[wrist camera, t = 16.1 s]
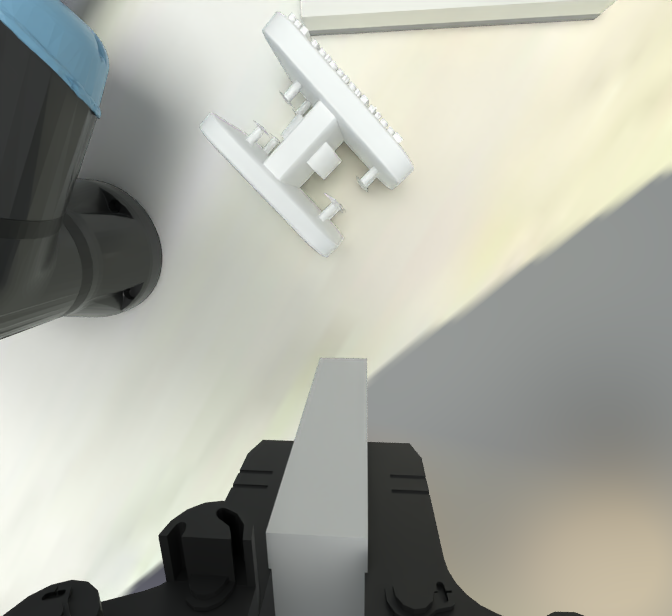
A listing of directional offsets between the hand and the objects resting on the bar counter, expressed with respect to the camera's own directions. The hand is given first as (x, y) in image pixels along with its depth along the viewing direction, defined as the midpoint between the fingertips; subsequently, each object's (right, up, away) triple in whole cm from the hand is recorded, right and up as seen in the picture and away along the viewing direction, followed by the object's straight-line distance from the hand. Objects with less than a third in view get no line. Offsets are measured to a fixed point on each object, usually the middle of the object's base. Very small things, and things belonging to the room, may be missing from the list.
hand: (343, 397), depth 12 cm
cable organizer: (-2, +18, +26) cm, 32 cm away
